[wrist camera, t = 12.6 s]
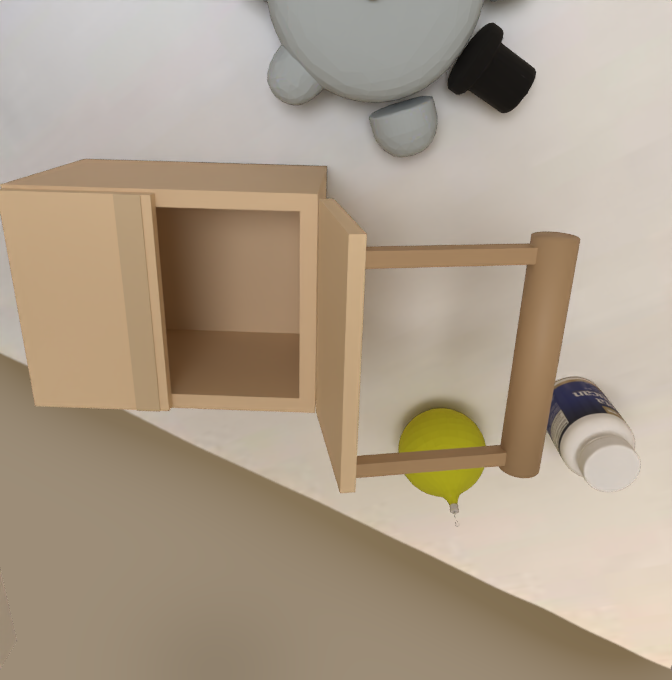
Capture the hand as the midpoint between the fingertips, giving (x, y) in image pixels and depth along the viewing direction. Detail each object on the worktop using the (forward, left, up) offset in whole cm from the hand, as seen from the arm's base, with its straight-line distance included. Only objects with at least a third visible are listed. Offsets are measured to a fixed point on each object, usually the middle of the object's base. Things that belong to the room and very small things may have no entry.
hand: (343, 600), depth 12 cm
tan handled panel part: (-1, -4, -22) cm, 22 cm away
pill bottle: (+19, -16, -39) cm, 46 cm away
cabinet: (-11, -4, -39) cm, 40 cm away
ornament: (+8, -19, -39) cm, 44 cm away
